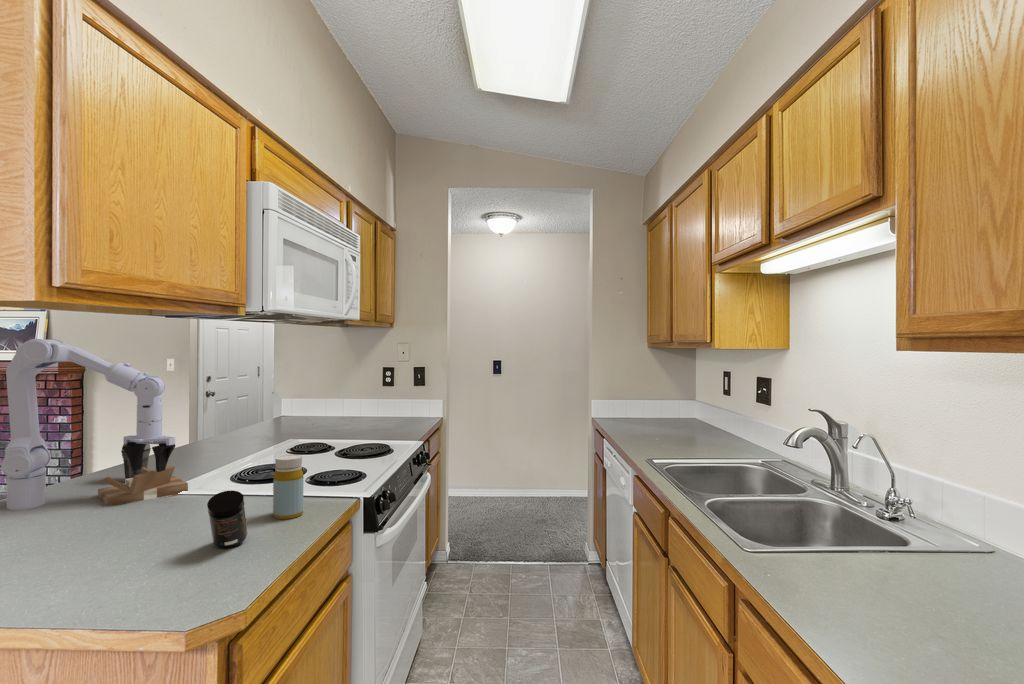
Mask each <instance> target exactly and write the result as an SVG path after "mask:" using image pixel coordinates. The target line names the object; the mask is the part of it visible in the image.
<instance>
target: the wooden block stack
mask: <svg viewBox="0 0 1024 684" xmlns="http://www.w3.org/2000/svg"><path fill="white" fill-rule="evenodd" d="M132 480H133V478H129V479H125V478H124V483H123V484H124V485H126V486H128V487H130V486H131V483H132ZM182 491H188V492H189V483H188V482H187V481H185V480H182V479H181V478H178V477H177V476H174V475H172V476H171V479H170V482H169V483H167V484H164V485H161V486H158V487H155V488H152V489H149V490H146V491H142V492H139V493H136V494H133V495H131V494H129V493H127V492H125V491H123V490H121V489H119V488H117V487H115V486H113V485H111V486H107V487H102V488H98V489H97V496H98V498H100V499H101V500H102V501H103V502H104V503H105V504H106V505H108V507H111V506H118V505H124V504H130V503H134V502H139V501H140V502H141V501H145V500H151V499H157V498H162V497H164V499H165V498H171V497H177V496H181V495H184V494H178V493H180V492H182Z"/></svg>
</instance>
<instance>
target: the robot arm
mask: <svg viewBox="0 0 1024 684" xmlns="http://www.w3.org/2000/svg"><path fill="white" fill-rule="evenodd" d="M59 362H71V363H74V364H77V365H79V366H81V367H84V368H87V369H89V370H92V371H94V372H96V373H99V374H102V375H104V377H105V380H106V381H107V382H108V383H110V384H113V385H115V386H117V387H119V388H122V389H124V390H126V391H129V392H131V393H134V395H135V396H136V399H137V400H136V401H137V403H136V433H135V434H136V435H125V436H123V439H122V440H123V441H122V442H123V445H124V444H127V445H126V446H123V445H122V447H121V450H122V449H123V450H124V451H125V453H126V454H127V456H128V458H129V460H130V463H131V467H132V470H133V471H135V470H139V469H141V468H142V459H143V452H144V449H145V446H146V444H150V445H154V446H151V450H152V451H153V454H154V457H155V458H154V459H155V470H156V471H157V472H161V471H164V470H165V468H166V466H168V461H169V458H170V456H171V454H172V452H173V451H174V450H175V448H176V437H175V436H167V435H163V393H164V392H165V390H166V384H165V382H164V381H163V379H161V378H160V377H159V376H157V375H156V376H155V375H151V376H149V375H150V373H149V372H146V371H144V372H142V371H140V370H138V369H136V368H134V367H131V366H132V364H131V363H128V362H125V363H123V362H117V363H111V362H109V361H107V360H106V359H102V358H101V357H98V356H96V355H94V354H92V353H91V352H89V351H86V350H85V349H83V348H80V347H78V346H76V345H74V344H71V343H67V342H64V341H62V340H60V339H56V338H51V339H45V338H44V339H42V338H31V339H28V340H27V341H24V343H23V342H22V343H21V344H20V345H18V346H17V347H16V348H15V354H14V356H13V358H11V361H10V363H9V364H8V365H7V367H6V368H5V369H6V371H5V376H6V387H7V388H6V390H7V401H8V402H7V403H8V414H9V415H8V417H9V428H10V429H9V430H10V440H9V443H8V444H7V446H6V447H5V449H4V457H3V459H2V462H1V464H0V467H1V471H2V473H3V474H4V475H5V476H6V509H7V510H10V511H19V510H26V509H27V510H28V509H33V508H38V507H41V506H42V505H45V504H46V495H47V493H46V487H47V486H46V482H47V481H46V480H47V479H46V478H47V471H46V467H47V466H48V465H49V463H50V461H51V458H52V457H51V456H52V455H51V452H50V450H49V449H48V448H47V446H46V441H45V439H44V438H43V437H42V436H41V434H40V431H41V430H40V421H39V420H40V419H39V418H40V417H39V409H38V408H39V406H38V394H37V393H38V392H37V381H36V379H37V378H36V376H37V375H39V373H41V372H43V370H45V369H46V368H47V367H49V366H52V365H54V364H57V363H59Z"/></svg>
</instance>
